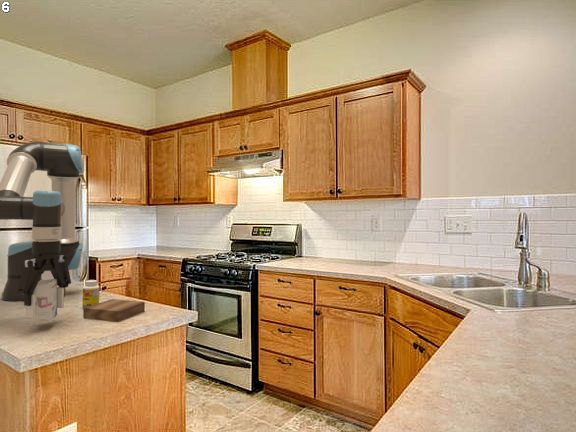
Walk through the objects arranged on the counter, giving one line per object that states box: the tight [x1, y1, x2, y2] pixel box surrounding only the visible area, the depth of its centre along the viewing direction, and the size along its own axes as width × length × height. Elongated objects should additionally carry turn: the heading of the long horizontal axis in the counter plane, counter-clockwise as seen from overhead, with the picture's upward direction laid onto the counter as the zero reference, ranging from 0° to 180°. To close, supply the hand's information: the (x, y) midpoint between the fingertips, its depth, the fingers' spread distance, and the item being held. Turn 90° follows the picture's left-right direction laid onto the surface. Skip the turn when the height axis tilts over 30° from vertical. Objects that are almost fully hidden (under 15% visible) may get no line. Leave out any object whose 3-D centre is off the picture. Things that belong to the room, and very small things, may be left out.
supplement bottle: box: [82, 279, 100, 308], centre depth 141 cm, size 6×6×10 cm
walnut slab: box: [82, 298, 146, 323], centre depth 133 cm, size 14×14×4 cm
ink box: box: [32, 278, 58, 324], centre depth 117 cm, size 9×5×12 cm, turn 21°
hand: (45, 311), depth 117 cm, fingers closed on ink box, 9 cm apart
